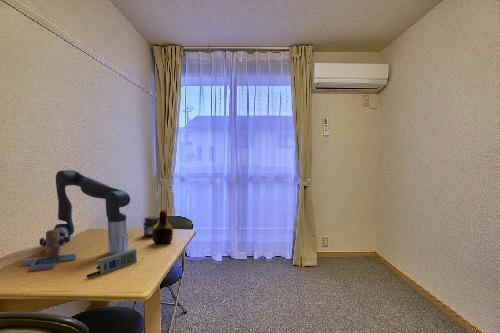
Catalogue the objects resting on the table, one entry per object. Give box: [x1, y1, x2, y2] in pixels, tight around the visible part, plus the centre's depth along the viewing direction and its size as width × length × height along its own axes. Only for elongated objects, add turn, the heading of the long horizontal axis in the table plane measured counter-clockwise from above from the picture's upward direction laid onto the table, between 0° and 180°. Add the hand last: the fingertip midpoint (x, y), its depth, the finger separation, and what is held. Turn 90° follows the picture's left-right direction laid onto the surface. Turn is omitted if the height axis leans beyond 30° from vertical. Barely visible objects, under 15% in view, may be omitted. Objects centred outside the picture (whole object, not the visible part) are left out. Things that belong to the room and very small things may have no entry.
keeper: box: [21, 253, 77, 272], centre depth 144 cm, size 22×12×2 cm, turn 113°
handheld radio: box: [86, 248, 138, 279], centre depth 139 cm, size 7×3×25 cm
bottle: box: [152, 209, 174, 245], centre depth 182 cm, size 12×6×20 cm, turn 98°
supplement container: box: [143, 215, 159, 238], centre depth 200 cm, size 10×10×12 cm
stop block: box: [45, 229, 61, 257], centre depth 155 cm, size 5×5×14 cm
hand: (52, 243), depth 152 cm, fingers open, 6 cm apart
